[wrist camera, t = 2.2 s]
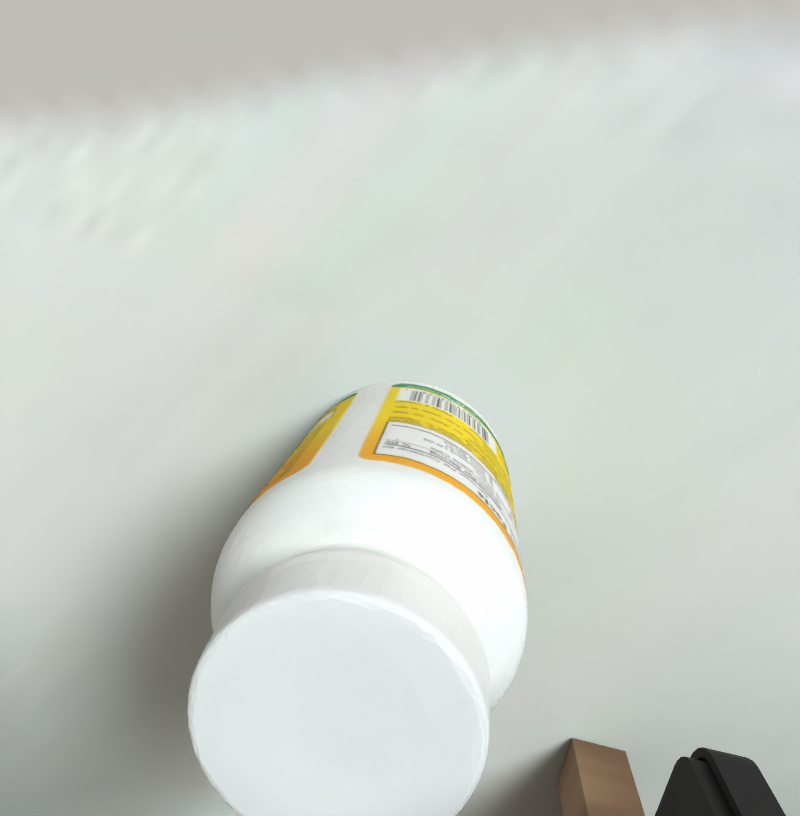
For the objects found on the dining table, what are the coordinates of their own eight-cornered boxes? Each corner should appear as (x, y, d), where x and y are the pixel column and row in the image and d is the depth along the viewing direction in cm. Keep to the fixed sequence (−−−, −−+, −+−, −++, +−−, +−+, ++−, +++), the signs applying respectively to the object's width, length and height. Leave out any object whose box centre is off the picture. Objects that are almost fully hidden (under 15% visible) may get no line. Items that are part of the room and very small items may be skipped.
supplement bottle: (487, 358, 17) (511, 505, 8) (524, 556, 19) (582, 882, 9) (277, 398, 18) (82, 576, 9) (326, 587, 19) (198, 917, 10)
